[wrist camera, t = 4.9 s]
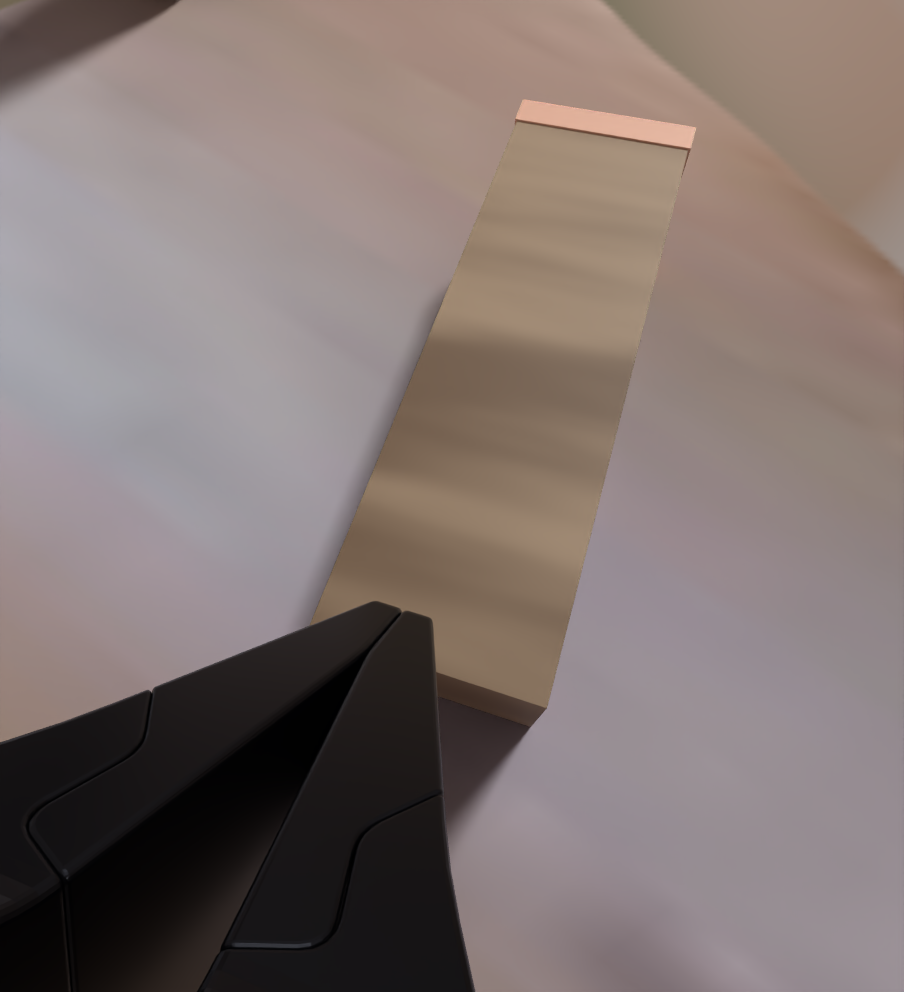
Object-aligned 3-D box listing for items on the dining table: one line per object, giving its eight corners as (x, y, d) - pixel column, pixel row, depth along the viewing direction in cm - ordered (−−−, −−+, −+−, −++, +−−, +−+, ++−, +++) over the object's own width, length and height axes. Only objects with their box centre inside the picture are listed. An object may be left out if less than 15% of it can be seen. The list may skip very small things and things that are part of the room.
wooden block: (549, 708, 11) (695, 127, 16) (304, 628, 12) (523, 99, 17) (532, 727, 15) (653, 259, 21) (352, 667, 16) (516, 232, 21)
